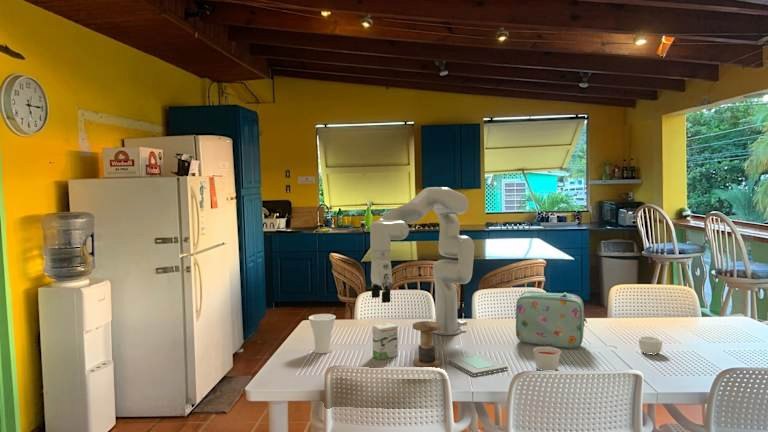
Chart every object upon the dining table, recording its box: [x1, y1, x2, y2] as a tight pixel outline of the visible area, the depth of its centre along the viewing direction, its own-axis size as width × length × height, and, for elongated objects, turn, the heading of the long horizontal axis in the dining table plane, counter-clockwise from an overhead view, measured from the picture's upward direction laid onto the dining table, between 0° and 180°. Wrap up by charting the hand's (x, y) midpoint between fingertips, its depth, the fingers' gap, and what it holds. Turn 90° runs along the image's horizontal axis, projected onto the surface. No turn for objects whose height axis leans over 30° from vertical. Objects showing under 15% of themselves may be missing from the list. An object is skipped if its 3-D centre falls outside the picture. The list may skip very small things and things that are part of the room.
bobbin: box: [412, 320, 442, 368], centre depth 191 cm, size 10×10×14 cm
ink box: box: [372, 322, 399, 361], centre depth 200 cm, size 9×5×12 cm, turn 123°
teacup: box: [638, 335, 663, 354], centre depth 200 cm, size 10×8×5 cm
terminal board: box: [447, 353, 508, 377], centre depth 187 cm, size 14×16×1 cm
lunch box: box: [515, 290, 588, 349], centre depth 211 cm, size 27×10×21 cm, turn 65°
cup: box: [308, 313, 336, 354], centre depth 207 cm, size 10×10×14 cm
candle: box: [533, 346, 562, 371], centre depth 184 cm, size 9×9×6 cm
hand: (380, 299), depth 200 cm, fingers open, 9 cm apart
